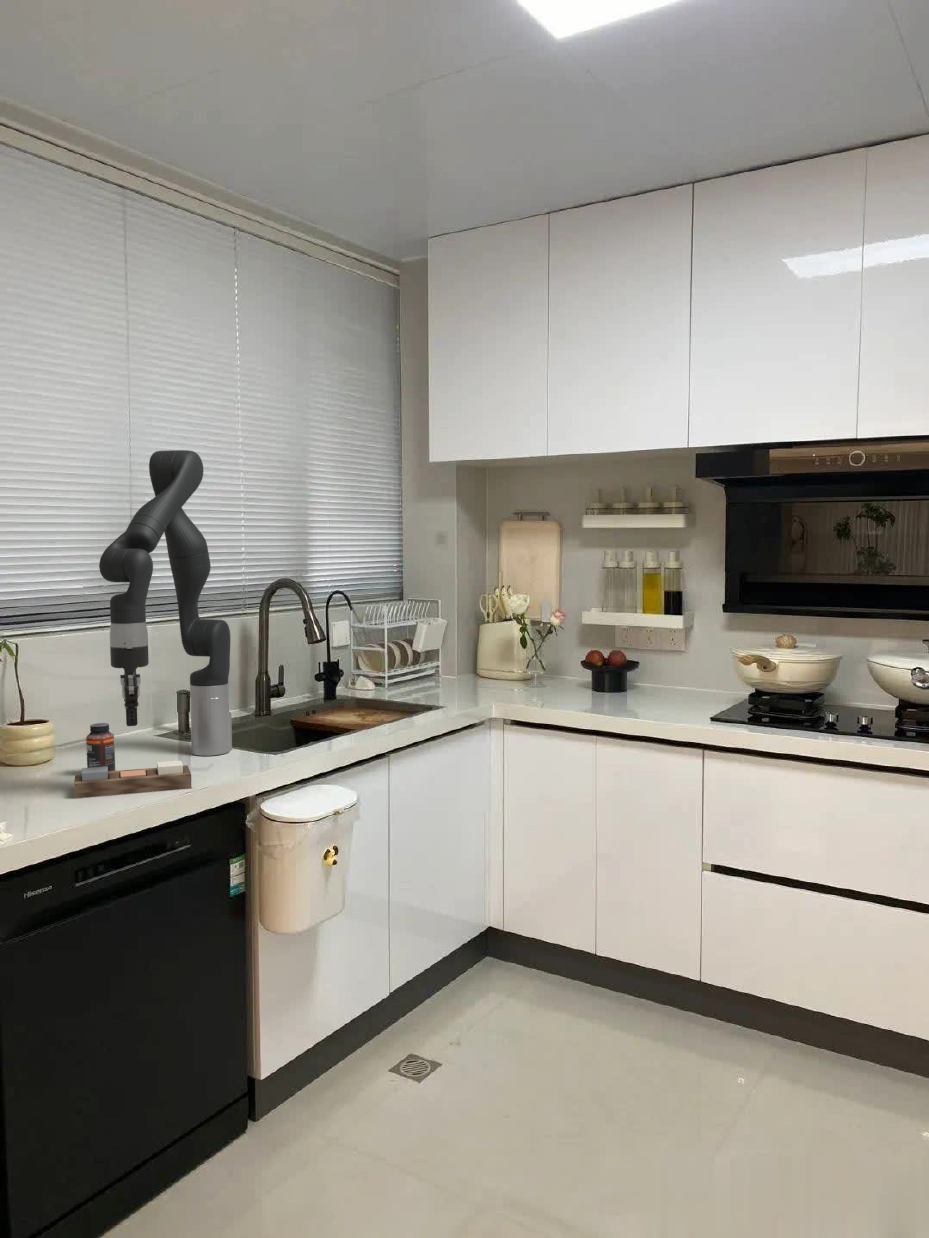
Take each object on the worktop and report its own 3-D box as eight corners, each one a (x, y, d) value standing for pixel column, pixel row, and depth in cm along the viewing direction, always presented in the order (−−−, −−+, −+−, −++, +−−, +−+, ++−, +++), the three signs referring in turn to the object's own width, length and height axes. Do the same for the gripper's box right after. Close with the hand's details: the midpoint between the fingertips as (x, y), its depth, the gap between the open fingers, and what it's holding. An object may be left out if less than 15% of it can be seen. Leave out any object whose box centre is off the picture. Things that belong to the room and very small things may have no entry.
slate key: (107, 776, 202) (107, 766, 201) (108, 781, 197) (107, 771, 197) (82, 778, 200) (82, 768, 200) (82, 783, 195) (81, 773, 195)
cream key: (181, 770, 207) (181, 760, 207) (183, 775, 202) (182, 765, 202) (157, 772, 205) (157, 762, 205) (158, 777, 200) (158, 767, 200)
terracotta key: (145, 779, 204) (145, 769, 204) (146, 784, 200) (146, 774, 200) (120, 781, 203) (120, 771, 202) (121, 787, 198) (120, 776, 198)
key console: (187, 778, 209) (187, 765, 209) (191, 788, 201) (191, 774, 201) (75, 787, 201) (75, 774, 201) (74, 798, 193) (73, 783, 193)
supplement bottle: (119, 770, 217) (117, 721, 216) (110, 776, 211) (108, 726, 210) (92, 770, 217) (91, 722, 216) (83, 777, 211) (81, 726, 210)
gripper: (109, 641, 204) (112, 721, 205) (110, 648, 191) (113, 732, 193) (146, 640, 206) (149, 718, 208) (149, 646, 194) (152, 729, 195)
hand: (131, 725), depth 200 cm, fingers closed
